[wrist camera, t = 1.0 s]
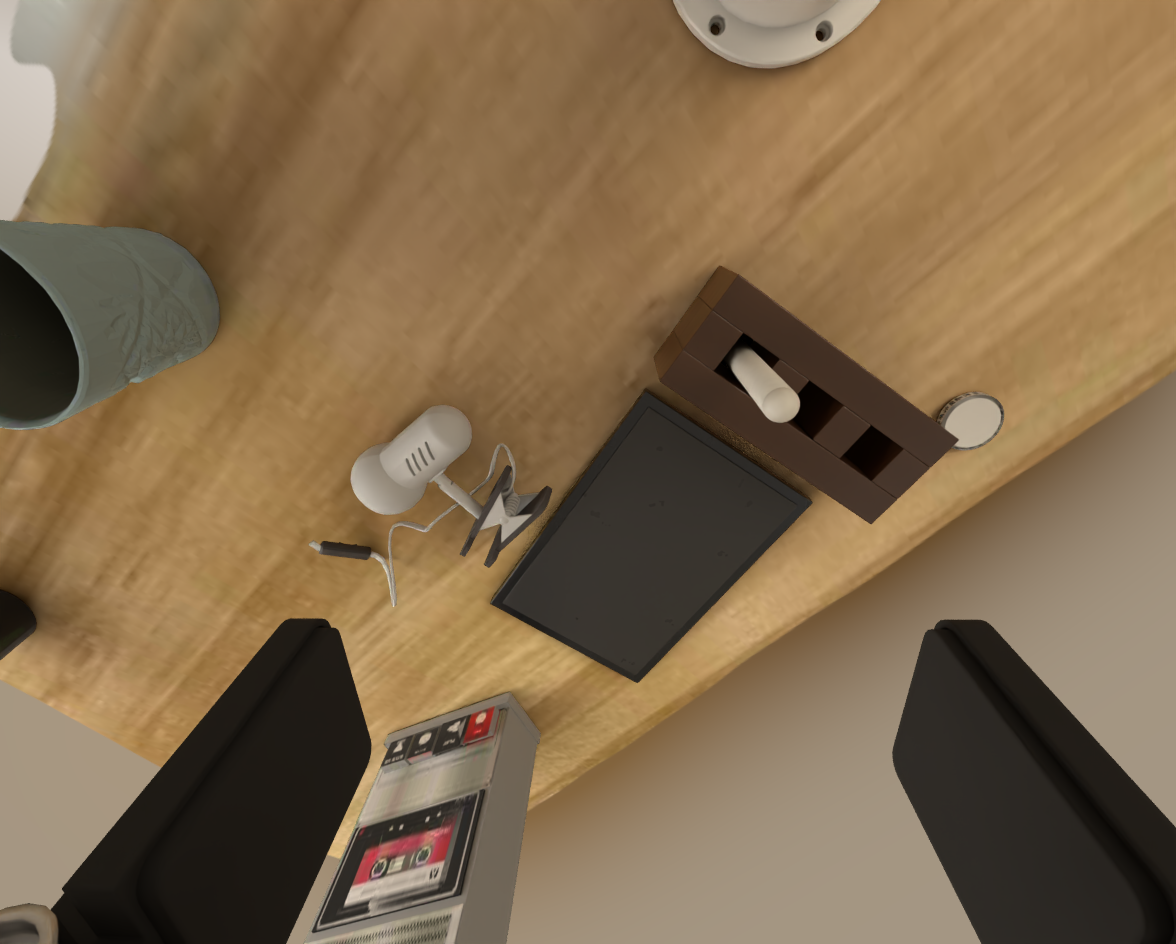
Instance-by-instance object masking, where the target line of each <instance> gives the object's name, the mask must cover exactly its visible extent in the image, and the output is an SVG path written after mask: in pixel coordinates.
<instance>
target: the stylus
mask: <svg viewBox="0 0 1176 944" xmlns="http://www.w3.org/2000/svg"><path fill="white" fill-rule="evenodd" d="M723 359H724V360H725V362H726V363H727V364H728V366H729V367H730V368H731V370H732V371H733V373H734V374H735V375H736V377H737V378H738V379H739V381H740V382H741V383H742V385H743V386H744V387H745V389H746V390H747V391H748V393H749V394H750V396H751V397H752V398H753V400H754V401H755V402H756V404H757V405H758V406H759V408H760V409H761V410H762V412H763V413H764V415H765V416H766V417H767V418H768V419H769V420H771V421H773V422H778V423H783V422H787V421H789V420H791V419H792V418H794V417H795V416H796V414H797V413H798V411H799V407H800V401H799V397H798V395H797V394H796V393H795V391H793V390H792V389H791V388H790V387H789V386H788V385H787V384H786V383H785V382H784V381H783V380H782V379H781V378H780V377H779V376H778V375H777V374H776V373H775V372H774V371H773V370H772V369H771V368H770V367H769V366H768V365H767V364H766V363H765V362H764V361H763V360H762V359H761V358H760V357H759V356H758V355H757V354H756V353H755V352H754V351H753V350H752V349H751V348H750V347H749V346H748V345H747V344H746V343H745V342H744V341H743V340H742V339H741V338H739V339H738V340H737V342H736V343H735V344H734V346H733V347H732V348H731V349H730V351H729V352H728V353H727V354H726V356H725V357H724V358H723Z"/></svg>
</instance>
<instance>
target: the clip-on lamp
mask: <svg viewBox="0 0 1176 944" xmlns="http://www.w3.org/2000/svg"><path fill="white" fill-rule="evenodd" d="M471 440H472V428H471V425H470V422H469V420H468V419H467V417H466V416H465V415H464V414H463V413H462V412H461V411H460V410H458V409H456V408H454V407H452V406H448V405H437V406H432V407H430V408H429V409H428V410H426V411H425V412H424V413H423V414H422V415H421V416H419V417H418V418H417V419H416V420H415V421H414V422H413V423H411V424H410V425H409V426H408V427H407V428H406V429H405V430H404V431H402V432H401V433H400V434H399V435H398V436H397V437H396V438H394V439H393V440H392V441H391V442H390V443H387V442H386V443H381V444H378V445H374V446H372V447H370V448H368V449H367V450H366V451H365V452H363V453H362V454H361V455H360V456H359V457H358V458H357V460H356V462H355V464H354V466H353V468H352V472H351V484H352V488H353V491H354V492H355V494H356V496H357V497H358V499H359V500H360V501H361V502H362V503H363V504H364V505H365V506H366V507H367V508H369V509H371V510H373V511H374V512H377V513H380V514H384V515H391V514H399V513H402V512H404V511H407V510H409V509H411V508H412V507H414V506H415V505H416V504H417V502H418V501H419V500H420V499H421V498H422V497H423V495H424V492H425V489H426V486H427V482H429V483H431V482H432V481H435V482H436V483H438V487H439V488H440V489H442V490H443V491H444V492H445V493H446V494H448V495H449V496H450V497H451V498H453V499H454V500H455V501H456V502H457V503H456V504H454V505H453V506H451V507H450V508H449V509H447V510H446V511H445V512H443V513H442V514H441V515H440V516H438V517H437V518H436V519H435V520H434V521H433V522H432V523H431V524H430V525H429V526H428V527H427V526H424V525H420V524H417V523H413V522H408V521H401V522H397V523H395V524H394V525H393V526H392V528H391V530H390V532H389V543H388V546H389V560H390V568H391V573H390V570H389V566H388V564H387V563H386V561H385V559H384V558H383V557H382V556H381V555H379V554H378V553H375V552H371V548H370V547H364V546H357V544H355V545H349V544H343V543H340V542H339V543H334V542H327V541H323V542H322V543H321V545H320V544H318V543H317V542H315V541H312V542H311V543H309V545H310V546H311V547H313V548H314V549H316V550H317V551H319V554H323V555H331V556H339V557H347V558H355V559H363V560H367V559H368V558H369V557H373V558H375V559H377V560H378V561H379V562H381V563H382V565H383V567H384V569H385V571H386V574H387V578H388V582H389V588H390V595H391V602H392V606H393V607H394V606H396V603H397V595H396V584H395V577H394V569H393V562H392V551H391V536H392V533H393V530H394V528H396V527H398V526H406V527H410V528H414V529H417V530H419V531H423V532H427V531H429V530H430V529H431V528H432V527H433V525H434V524H435V523H436V522H437V521H439V520H440V519H441V518H442V517H444V516H445V515H446V514H448V513H449V512H450V511H452V510H453V509H454V508H456V507H457V506H458V505H461V506H462V507H464V508H465V509H466V510H467V511H468V512H470V513H471V514H472V515H473V516H475V517H476V520H475V522H474V524H473V527H472V529H471V531H470V533H469V535H468V537H467V540H466V542H465V544H464V546H463V548H462V550H461V553H460V555H462V556H464V557H465V556H466V554H467V552H468V551H469V549H470V547H471V545H472V543H473V541H474V539H475V537H476V536H477V534H478V532H479V530H483V529H486V528H489V527H492V526H495V525H498V524H501V526H500V527H499V529H498V531H497V534H496V536H495V539H494V541H493V544H492V546H491V549H490V551H489V554H488V556H487V558H486V561H485V563H484V565H485V566H487V567H488V568H489V567H490V566H491V565H492V564H493V563H494V562H495V561H496V559H497V557H498V554H499V552H500V551H501V550H502V549H503V548H505V547H506V546H507V545H508V544H509V543H510V542H511V541H512V540H513V539H514V538H516V537H517V536H518V535H519V534H520V533H521V532H522V531H523V530H524V529H525V528H527V527H528V526H529V525H530V524H531V523H532V522H533V521H534V520H535V519H536V518H538V517H539V516H540V515H541V514H542V513H543V511H544V510H545V508H546V507H547V505H548V502H549V499H550V496H551V493H552V488H550V487H549V486H546V487H545V488H543V489H542V490H541V491H540V492H538V493H530V494H523V495H518V494H517V493H515V492H514V488H513V484H514V482H515V478H516V466H515V462H514V458H513V456H512V454H511V452H510V450H509V448H508V447H507V446H506V445H505V444H502V443H500V444H499V445H498V446H497V447H496V449H495V451H494V454H493V457H492V461H491V465H490V470H489V475H488V477H487V478H486V479H485V480H484V481H483V482H482V483H481V484H480V485H479V486H477V487H476V488H475V489H474V490H472V491H471V492H470V493H469V494H467V493H466V492H465V491H464V490H462V489H461V488H460V487H459V486H458V485H456V484H455V483H454V482H453V481H452V480H450V479H449V478H448V477H447V476H446V475H445V474H443V472H444V471H445V470H446V468H447V467H448V465H449V464H451V463H452V462H453V461H454V460H455V459H457V458H458V457H459V456H460V455H462V454H463V453H464V452H465V451H466V450H467V449H468V448H469V446H470V443H471ZM502 446H503V447H504V448H505V450H506V452H507V454H508V456H509V459H510V462H511V466H512V467H510V466H508V465H507V466H506V467H505V469H504V471H503V472H502V474H501V476H500V478H499V479H498V481H497V483H496V485H495V486H494V488H493V490H492V492H491V494H490V496H489V498H488V500H487V502H486V504H485V506H484V507H483V506H482V505H480V504H479V503H478V502H477V501H476V500H474V499H473V498H472V497H471V495H473V494H474V493H475V492H476V491H478V490H479V489H480V488H481V487H482V486H483V485H485V484H486V483H487V482H488V481H489V480H490V479H491V478H492V476H493V474H494V470H495V463H496V459H497V455H498V452H499V449H500V448H501V447H502ZM511 470H512V479H511V475H510V472H511ZM391 576H392V577H391Z"/></svg>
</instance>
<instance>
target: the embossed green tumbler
mask: <svg viewBox="0 0 1176 944" xmlns="http://www.w3.org/2000/svg"><path fill="white" fill-rule="evenodd" d="M219 321H220V310H219V303H218V298H217V295H216V291H215V289H214V287H213V285H212V282H211V280H210V278H209V277H208V275H207V273H206V272H205V270H204V269H203V268H202V266H201V265H200V264H199V262H198V261H197V260H196V259H195V258H194V257H193V256H192V255H191V254H190V253H189V252H188V251H187V250H186V249H185V248H184V247H182V246H180V245H179V244H177V243H176V242H174V241H173V240H171V239H170V238H167V237H164V236H163V235H162V234H161V233H156V232H152V231H149V230H145V229H140V228H128V227H106V228H102V227H99V226H86V225H79V224H78V225H77V224H72V225H71V224H63V223H58V224H48V223H43V222H12V221H4V220H0V428H7V429H14V430H31V429H39V428H45V427H49V426H52V425H55V424H57V423H59V422H62V421H64V420H66V419H68V418H69V417H71V416H73V415H75V414H77V413H79V412H81V411H83V410H85V409H87V408H89V407H91V406H92V405H94V404H95V403H98V402H100V401H103V400H105V399H106V398H109V397H111V396H113V395H115V394H116V393H117V392H119V391H121V390H122V389H124V388H126V386H128V385H129V383H130V382H134V383H140V382H142V381H144V380H145V379H147V378H151V377H153V376H154V375H156V374H157V373H158V372H161V371H163V370H165V369H166V368H169V367H171V366H174V365H176V364H178V363H181V362H184V361H186V360H188V359H190V358H192V357H194V356H196V355H198V354H200V353H201V352H202V351H203V350H205V349H206V348H207V347H208V346H209V345H210V344H211V342H212V341H213V339H214V337H215V336H216V333H217V330H218V327H219Z"/></svg>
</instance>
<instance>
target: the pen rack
mask: <svg viewBox="0 0 1176 944" xmlns="http://www.w3.org/2000/svg"><path fill="white" fill-rule="evenodd" d="M743 333H745V334H746V335H748V336H749V337H750V338H752V339H753V340H754V341H753V342H752V343H751V345H750V346H749V347H750V348H751V349H752V350H753V351H754V352H755V353H756V354H757V355H758V356H759V357H760V358H761V359H762V360H763V361H764V362H765V363H766V364H767V365H768V366H769V367H770V368H771V369H772V370H773V371H774V372H775V373H776V374H777V375H778V376H779V377H780V378H781V379H782V380H783V381H784V382H785V383H786V384H787V385H788V386H789V387H790V388H791V389H792V390H793V391H795V393H796V394H797V395H798V397H799V401H800V407H799V411H798V413H797V414H796V416H795V417H794V418H792V419H791V420H789V421H787V422H783V423H778V422H773V421H771V420H769V419H768V418H767V417H766V416H765V415H764V413H763V412H762V410H761V409H760V408H759V406H758V405H757V404H756V402H755V401H754V400H753V398H752V397H751V396H750V394H749V393H748V391H747V390H746V389H745V387H744V386H743V385H742V383H741V382H740V381H739V379H738V378H737V377H736V375H735V374H734V373H733V371H732V370H729V369H728V368H727V367H725V366H724V365H722V364H721V363H720V362H721V361H722V360H723V358H724V357H725V356H726V354H727V353H728V352H729V351H730V349H731V348H732V347H733V346H734V344H735V343H736V342H737V340H738V339H739V338H740V337H741V335H742V334H743ZM654 360H655V364H656V368H657V372H658V376H659V380H660V382H661V383H663V384H664V385H666V386H667V387H669V388H670V389H672V390H673V391H675V392H676V393H678V394H679V395H680V396H682V397H683V398H685V399H686V400H688V401H689V402H691V403H692V404H694V405H695V406H697V407H698V408H700V409H701V410H703V411H704V412H706V413H707V414H709V415H710V416H712V417H713V418H714V419H716V420H717V421H719V422H720V423H722V424H723V425H725V426H726V427H728V428H729V429H731V430H732V431H734V432H735V433H737V434H738V435H740V436H741V437H743V438H744V439H745V440H747V441H748V442H750V443H751V444H753V445H754V446H756V447H757V448H759V449H760V450H762V451H763V452H765V453H766V454H768V455H769V456H771V457H772V458H774V459H775V460H777V461H778V462H779V463H781V464H782V465H784V466H785V467H787V468H788V469H790V470H791V471H793V472H794V473H796V474H797V475H799V476H800V477H802V478H803V479H805V480H806V481H808V482H809V483H810V484H812V485H813V486H815V487H816V488H818V489H819V490H821V491H822V492H824V493H825V494H827V495H828V496H830V497H831V498H833V499H834V500H836V501H837V502H839V503H840V504H842V505H843V506H844V507H846V508H847V509H849V510H850V511H852V512H853V513H855V514H856V515H858V516H859V517H861V518H862V519H864V520H865V521H867V522H868V523H870V524H872V523H873V522H874V521H875V520H876V519H877V518H878V517H879V516H880V515H881V514H883V513H884V512H885V511H886V510H887V509H888V508H889V507H890V506H891V505H892V504H893V503H894V502H895V501H896V500H897V499H898V498H899V497H900V496H901V495H902V494H903V493H904V492H905V491H907V490H908V489H909V488H910V487H911V486H912V485H913V484H914V483H915V482H916V481H917V480H918V479H919V478H920V477H921V476H922V475H923V474H924V473H925V472H926V471H927V470H928V469H929V467H932V466H933V465H934V464H935V463H936V462H937V461H938V460H939V459H940V458H941V457H942V456H943V455H944V454H945V453H946V452H947V451H948V450H949V449H951V448H952V447H953V446H954V445H955V444H956V443H957V442H958V441H959V439H958V438H957V437H955V436H954V435H953V434H951V433H950V432H949V431H947V430H946V429H945V428H943V427H942V426H941V425H939V424H938V423H937V422H935V421H934V420H932V419H931V418H930V417H928V416H927V415H926V414H924V413H923V412H922V411H920V410H919V409H918V408H916V407H915V406H914V405H912V404H911V403H910V402H908V401H907V400H906V399H904V398H903V397H902V396H900V395H899V394H898V393H896V392H895V391H894V390H892V389H891V388H890V387H888V386H887V385H886V384H884V383H883V382H882V381H880V380H879V379H878V378H876V377H875V376H874V375H872V374H871V373H870V372H868V371H867V370H866V369H864V368H863V367H862V366H860V365H859V364H858V363H856V362H855V361H854V360H852V359H851V358H850V357H848V356H847V355H846V354H844V353H843V352H842V351H840V350H839V349H838V348H836V347H835V346H834V345H832V344H831V343H830V342H828V341H827V340H826V339H824V338H823V337H822V336H820V335H819V334H818V333H816V332H815V331H814V330H812V329H811V328H810V327H808V326H807V325H806V324H804V323H803V322H802V321H800V320H799V319H798V318H796V317H795V316H794V315H792V314H791V313H790V312H788V311H787V310H786V309H784V308H783V307H782V306H780V305H779V304H778V303H776V302H775V301H774V300H772V299H771V298H770V297H768V296H767V295H766V294H764V293H763V292H762V291H760V290H759V289H758V288H756V287H755V286H754V285H752V284H751V283H750V282H748V281H747V280H746V279H744V278H743V277H742V276H740V275H739V274H737V273H735V272H733V271H730V270H728V269H726V268H724V267H722V266H719V267H718V268H717V270H716V271H715V273H714V274H713V275H712V277H711V278H710V280H709V281H708V282H707V284H706V285H705V286H704V288H703V289H702V291H701V292H700V293H699V295H698V296H697V298H696V299H695V300H694V302H693V303H692V305H691V306H690V307H689V309H688V310H687V311H686V313H685V314H684V316H683V317H682V318H681V320H680V321H679V323H678V324H677V325H676V327H675V328H674V330H673V331H672V332H671V334H670V335H669V336H668V338H667V339H666V341H665V342H664V343H663V345H662V346H661V348H660V349H659V350H658V352H657V353H656V355H655V356H654Z"/></svg>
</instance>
